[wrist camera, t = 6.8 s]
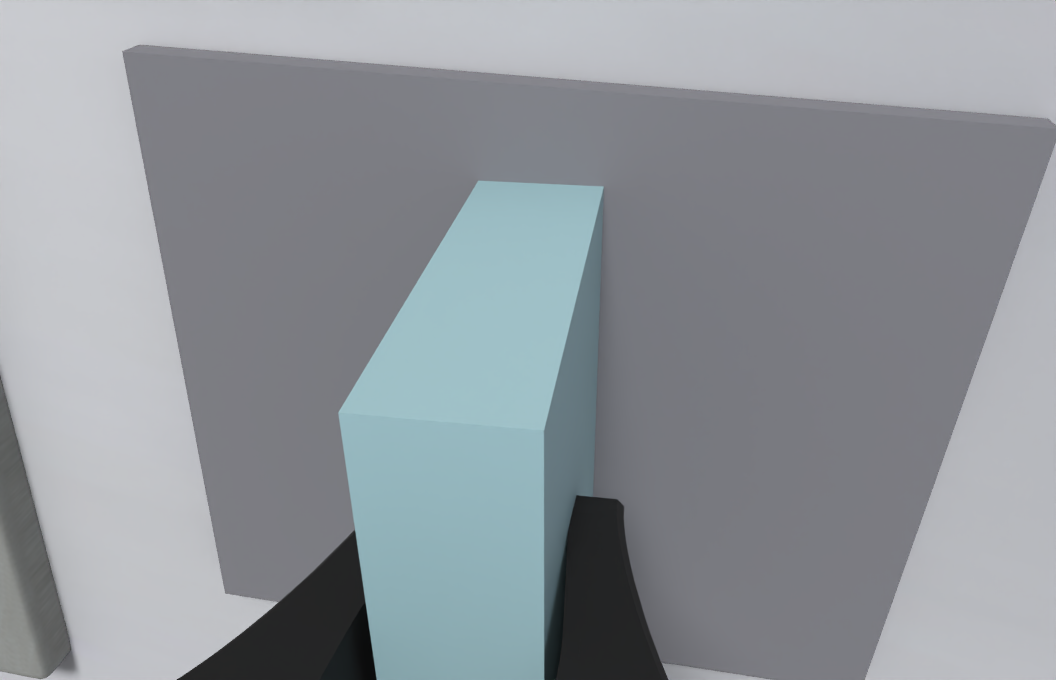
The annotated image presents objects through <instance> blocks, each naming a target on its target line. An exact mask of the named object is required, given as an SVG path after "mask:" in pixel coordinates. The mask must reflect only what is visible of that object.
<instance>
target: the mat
mask: <svg viewBox="0 0 1056 680" xmlns="http://www.w3.org/2000/svg"><path fill="white" fill-rule="evenodd" d="M122 52H123V58H124V63H125V68H126V73H127V79H128V84H129V89H130V95H131V100H132V105H133V110H134V116H135V121H136V126H137V131H138V137H139V142H140V147H141V152H142V158H143V163H144V168H145V173H146V179H147V184H148V189H149V195H150V200H151V205H152V210H153V216H154V221H155V226H156V231H157V237H158V242H159V247H160V252H161V258H162V263H163V268H164V274H165V279H166V284H167V289H168V295H169V300H170V305H171V310H172V316H173V321H174V326H175V331H176V337H177V342H178V347H179V352H180V358H181V363H182V368H183V374H184V379H185V384H186V389H187V395H188V400H189V405H190V410H191V416H192V421H193V426H194V431H195V437H196V442H197V447H198V452H199V458H200V463H201V468H202V474H203V479H204V484H205V489H206V495H207V500H208V505H209V510H210V516H211V521H212V526H213V531H214V537H215V542H216V547H217V552H218V558H219V563H220V568H221V574H222V579H223V584H224V589H225V593H226V594H232V595H239V596H245V597H251V598H258V599H264V600H270V601H277V602H279V601H281V600H282V599H283V598H284V597H285V596H286V595H287V594H288V593H289V592H291V591H292V590H293V589H294V588H295V587H296V586H297V585H298V584H300V583H301V582H302V581H303V580H304V579H305V578H306V577H307V576H308V575H309V574H311V573H312V572H313V571H314V570H315V569H316V568H317V567H318V566H319V565H320V564H321V563H322V562H323V561H324V560H325V559H326V558H327V557H328V556H329V555H330V554H331V553H332V552H333V551H334V550H335V549H336V548H337V547H338V546H339V545H340V544H341V543H342V542H343V541H344V540H345V539H346V538H347V537H348V536H349V535H350V534H351V533H352V532H353V531H354V530H355V525H354V518H353V511H352V504H351V498H350V491H349V484H348V477H347V470H346V463H345V456H344V449H343V442H342V435H341V428H340V421H339V414H338V412H339V411H340V409H341V407H342V406H343V404H344V402H345V401H346V399H347V397H348V396H349V394H350V392H351V391H352V389H353V387H354V386H355V384H356V382H357V381H358V379H359V377H360V376H361V374H362V372H363V371H364V369H365V367H366V366H367V364H368V363H369V361H370V359H371V358H372V356H373V354H374V353H375V351H376V349H377V348H378V346H379V344H380V343H381V341H382V339H383V338H384V336H385V334H386V333H387V331H388V329H389V328H390V326H391V324H392V323H393V321H394V319H395V318H396V316H397V315H398V313H399V311H400V310H401V308H402V306H403V305H404V303H405V301H406V300H407V298H408V296H409V295H410V293H411V291H412V290H413V288H414V286H415V285H416V283H417V281H418V280H419V278H420V276H421V275H422V273H423V271H424V270H425V268H426V267H427V265H428V263H429V262H430V260H431V258H432V257H433V255H434V253H435V252H436V250H437V248H438V247H439V245H440V243H441V242H442V240H443V238H444V237H445V235H446V233H447V232H448V230H449V228H450V227H451V225H452V223H453V222H454V220H455V219H456V217H457V215H458V214H459V212H460V210H461V209H462V207H463V205H464V204H465V202H466V200H467V199H468V197H469V195H470V194H471V192H472V190H473V189H474V187H475V185H476V184H477V182H478V181H496V182H518V183H539V184H561V185H582V186H603V187H604V198H603V226H602V254H601V283H600V311H599V340H598V368H597V397H596V425H595V453H594V482H593V497H600V498H610V499H618V500H619V501H620V502H621V503H622V504H623V505H624V529H625V537H626V544H627V550H628V554H629V559H630V564H631V569H632V573H633V577H634V581H635V585H636V588H637V592H638V595H639V598H640V602H641V605H642V609H643V612H644V615H645V619H646V622H647V625H648V627H649V630H650V633H651V636H652V639H653V642H654V644H655V647H656V650H657V652H658V655H659V658H660V661H661V662H664V663H670V664H677V665H683V666H689V667H696V668H702V669H708V670H715V671H721V672H727V673H734V674H740V675H746V676H753V677H759V678H765V679H772V680H865V677H866V674H867V672H868V669H869V666H870V663H871V660H872V658H873V655H874V652H875V649H876V646H877V643H878V641H879V638H880V635H881V632H882V629H883V627H884V624H885V621H886V618H887V615H888V613H889V610H890V607H891V604H892V601H893V598H894V596H895V593H896V590H897V587H898V584H899V582H900V579H901V576H902V573H903V570H904V567H905V565H906V562H907V559H908V556H909V553H910V551H911V548H912V545H913V542H914V539H915V537H916V534H917V531H918V528H919V525H920V522H921V520H922V517H923V514H924V511H925V508H926V506H927V503H928V500H929V497H930V494H931V492H932V489H933V486H934V483H935V480H936V477H937V475H938V472H939V469H940V466H941V463H942V461H943V458H944V455H945V452H946V449H947V446H948V444H949V441H950V438H951V435H952V432H953V430H954V427H955V424H956V421H957V418H958V416H959V413H960V410H961V407H962V404H963V401H964V399H965V396H966V393H967V390H968V387H969V385H970V382H971V379H972V376H973V373H974V370H975V368H976V365H977V362H978V359H979V356H980V354H981V351H982V348H983V345H984V342H985V340H986V337H987V334H988V331H989V328H990V325H991V323H992V320H993V317H994V314H995V311H996V309H997V306H998V303H999V300H1000V297H1001V294H1002V292H1003V289H1004V286H1005V283H1006V280H1007V278H1008V275H1009V272H1010V269H1011V266H1012V264H1013V261H1014V258H1015V255H1016V252H1017V249H1018V247H1019V244H1020V241H1021V238H1022V235H1023V233H1024V230H1025V227H1026V224H1027V221H1028V218H1029V216H1030V213H1031V210H1032V207H1033V204H1034V202H1035V199H1036V196H1037V193H1038V190H1039V188H1040V185H1041V182H1042V179H1043V176H1044V173H1045V171H1046V168H1047V165H1048V162H1049V159H1050V157H1051V154H1052V151H1053V148H1054V145H1055V143H1056V125H1055V124H1054V123H1052V122H1051V121H1050V120H1049V119H1044V118H1032V117H1019V116H1007V115H995V114H983V113H970V112H958V111H946V110H934V109H921V108H909V107H897V106H884V105H872V104H860V103H848V102H835V101H823V100H811V99H798V98H786V97H774V96H762V95H749V94H737V93H725V92H713V91H700V90H688V89H676V88H663V87H651V86H639V85H627V84H614V83H602V82H590V81H577V80H565V79H553V78H541V77H528V76H516V75H504V74H492V73H479V72H467V71H455V70H442V69H430V68H418V67H406V66H393V65H381V64H369V63H356V62H344V61H332V60H320V59H307V58H295V57H283V56H271V55H258V54H246V53H234V52H221V51H209V50H197V49H185V48H172V47H160V46H148V45H138V46H135V47H133V48H130V49H127V50H125V51H122Z"/></svg>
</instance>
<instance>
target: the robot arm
mask: <svg viewBox="0 0 1056 680" xmlns="http://www.w3.org/2000/svg"><path fill="white" fill-rule="evenodd" d="M177 680H377V678H376V671H375V664H374V657H373V650H372V643H371V636H370V629H369V622H368V615H367V609H366V602H365V595H364V588H363V581H362V574H361V567H360V560H359V553H358V546H357V539H356V532H355V530H354V531H353V532H352V533H351V534H350V535H349V536H348V537H347V538H346V539H345V540H344V541H343V542H342V543H341V544H340V545H339V546H338V547H337V548H336V549H335V550H334V551H333V552H332V553H331V554H330V555H329V556H328V557H327V558H326V559H325V560H324V561H323V562H322V563H321V564H320V565H319V566H318V567H317V568H316V569H315V570H314V571H313V572H312V573H311V574H309V575H308V576H307V577H306V578H305V579H304V580H303V581H302V582H301V583H300V584H298V585H297V586H296V587H295V588H294V589H293V590H292V591H291V592H289V593H288V594H287V595H286V596H285V597H284V598H283V599H282V600H281V601H279V602H278V603H277V604H276V605H275V606H274V607H273V608H272V609H270V610H269V611H268V612H267V613H266V614H265V615H263V616H262V617H261V618H260V619H258V620H257V621H256V622H255V623H254V624H252V625H251V626H250V627H249V628H247V629H246V630H245V631H244V632H242V633H241V634H240V635H239V636H237V637H236V638H235V639H233V640H232V641H231V642H229V643H228V644H227V645H226V646H224V647H223V648H222V649H220V650H219V651H218V652H216V653H215V654H214V655H212V656H211V657H209V658H208V659H207V660H205V661H204V662H202V663H201V664H199V665H198V666H196V667H195V668H194V669H192V670H191V671H189V672H188V673H186V674H185V675H183V676H182V677H180V678H179V679H177ZM556 680H668V678H667V676H666V673H665V671H664V668H663V666H662V663H661V661H660V658H659V655H658V652H657V650H656V647H655V644H654V642H653V639H652V636H651V633H650V630H649V627H648V625H647V622H646V619H645V615H644V612H643V609H642V605H641V602H640V598H639V595H638V592H637V588H636V585H635V581H634V577H633V573H632V569H631V564H630V559H629V554H628V550H627V544H626V537H625V529H624V505H623V504H622V503H621V502H620V501H619V500H618V499H610V498H600V497H589V496H579V495H576V499H575V503H574V507H573V511H572V515H571V519H570V524H569V528H568V540H567V559H566V579H565V599H564V619H563V636H562V645H561V654H560V661H559V666H558V671H557V676H556Z"/></svg>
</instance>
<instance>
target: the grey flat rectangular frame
mask: <svg viewBox="0 0 1056 680" xmlns="http://www.w3.org/2000/svg"><path fill="white" fill-rule="evenodd" d="M70 650H71V646H70V641H69V637H68V633H67V629H66V625H65V621H64V617H63V613H62V609H61V605H60V602H59V598H58V594H57V590H56V586H55V583H54V579H53V575H52V571H51V567H50V564H49V560H48V556H47V552H46V548H45V545H44V541H43V537H42V533H41V529H40V526H39V522H38V518H37V514H36V510H35V507H34V503H33V499H32V495H31V491H30V488H29V484H28V480H27V476H26V472H25V469H24V465H23V461H22V457H21V453H20V450H19V446H18V442H17V438H16V434H15V431H14V427H13V423H12V419H11V415H10V412H9V408H8V404H7V400H6V396H5V393H4V389H3V385H2V381H1V377H0V671H2V672H7V673H12V674H17V675H22V676H27V677H32V678H38V679H43V678H47V677H48V676H49V675H50V674H51V673H52V672H53V671H54V670H55V669H56V668H57V667H58V666H59V664H60V663H61V662H62V660H63V659H64V658H65V656H66V655H67V654H68V652H69V651H70Z"/></svg>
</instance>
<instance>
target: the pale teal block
mask: <svg viewBox="0 0 1056 680" xmlns="http://www.w3.org/2000/svg"><path fill="white" fill-rule="evenodd" d="M603 198H604V187H603V186H582V185H561V184H539V183H518V182H496V181H478V182H477V184H476V185H475V187H474V189H473V190H472V192H471V194H470V195H469V197H468V199H467V200H466V202H465V204H464V205H463V207H462V209H461V210H460V212H459V214H458V215H457V217H456V219H455V220H454V222H453V223H452V225H451V227H450V228H449V230H448V232H447V233H446V235H445V237H444V238H443V240H442V242H441V243H440V245H439V247H438V248H437V250H436V252H435V253H434V255H433V257H432V258H431V260H430V262H429V263H428V265H427V267H426V268H425V270H424V271H423V273H422V275H421V276H420V278H419V280H418V281H417V283H416V285H415V286H414V288H413V290H412V291H411V293H410V295H409V296H408V298H407V300H406V301H405V303H404V305H403V306H402V308H401V310H400V311H399V313H398V315H397V316H396V318H395V319H394V321H393V323H392V324H391V326H390V328H389V329H388V331H387V333H386V334H385V336H384V338H383V339H382V341H381V343H380V344H379V346H378V348H377V349H376V351H375V353H374V354H373V356H372V358H371V359H370V361H369V363H368V364H367V366H366V367H365V369H364V371H363V372H362V374H361V376H360V377H359V379H358V381H357V382H356V384H355V386H354V387H353V389H352V391H351V392H350V394H349V396H348V397H347V399H346V401H345V402H344V404H343V406H342V407H341V409H340V411H339V412H338V414H339V421H340V428H341V435H342V442H343V449H344V456H345V463H346V470H347V477H348V484H349V491H350V498H351V504H352V511H353V518H354V525H355V532H356V539H357V546H358V553H359V560H360V567H361V574H362V581H363V588H364V595H365V602H366V609H367V615H368V622H369V629H370V636H371V643H372V650H373V657H374V664H375V671H376V678H377V680H556V676H557V671H558V666H559V661H560V654H561V645H562V636H563V619H564V599H565V579H566V559H567V540H568V528H569V524H570V519H571V515H572V511H573V507H574V503H575V499H576V495H579V496H589V497H593V482H594V453H595V425H596V397H597V368H598V340H599V311H600V283H601V254H602V226H603Z"/></svg>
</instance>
